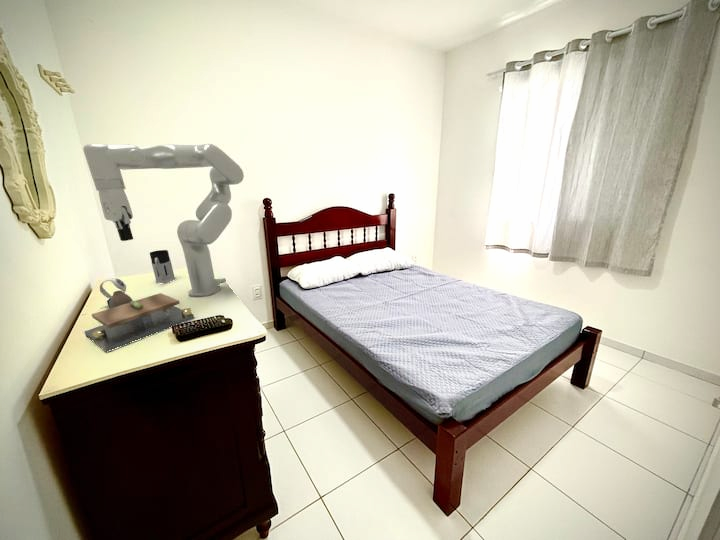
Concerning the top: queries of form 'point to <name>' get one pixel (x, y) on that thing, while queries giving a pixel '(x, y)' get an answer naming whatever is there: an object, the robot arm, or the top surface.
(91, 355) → the top surface
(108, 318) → the plate
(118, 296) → the vase
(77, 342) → the top surface
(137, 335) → the base
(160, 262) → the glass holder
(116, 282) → the watch
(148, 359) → the top surface
